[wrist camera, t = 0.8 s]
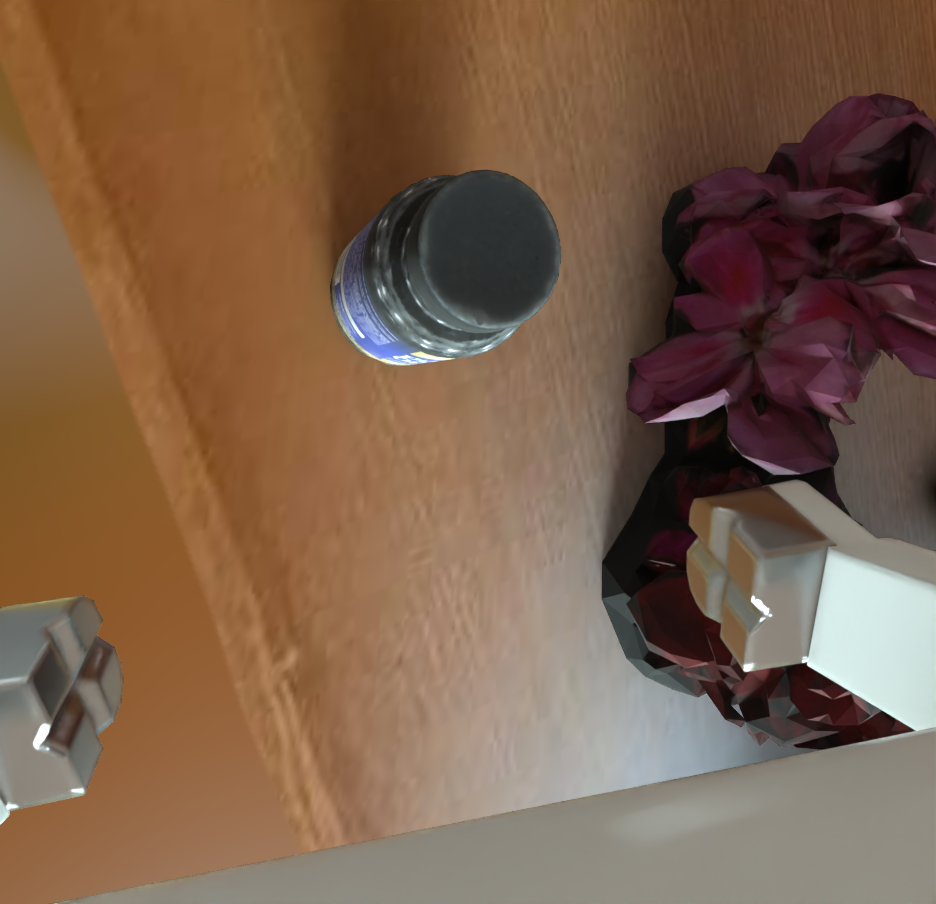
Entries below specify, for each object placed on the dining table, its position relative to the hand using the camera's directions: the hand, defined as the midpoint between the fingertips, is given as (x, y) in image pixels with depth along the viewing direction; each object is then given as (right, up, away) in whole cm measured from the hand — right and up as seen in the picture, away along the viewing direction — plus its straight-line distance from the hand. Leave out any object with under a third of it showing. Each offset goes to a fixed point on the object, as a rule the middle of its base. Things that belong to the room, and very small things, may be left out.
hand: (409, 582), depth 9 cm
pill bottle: (-2, +9, +21) cm, 23 cm away
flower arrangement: (+15, +3, +28) cm, 32 cm away
